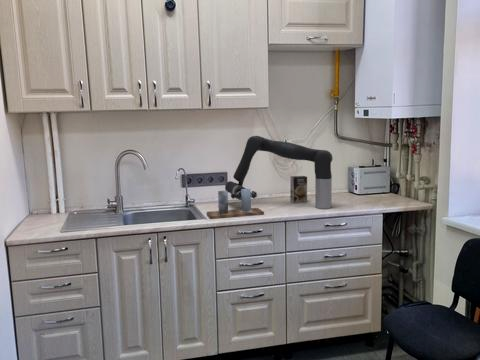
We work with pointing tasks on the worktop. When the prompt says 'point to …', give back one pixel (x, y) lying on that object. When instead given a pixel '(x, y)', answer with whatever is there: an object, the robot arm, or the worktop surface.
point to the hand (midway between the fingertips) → (246, 196)
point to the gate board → (227, 213)
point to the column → (246, 200)
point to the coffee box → (298, 189)
